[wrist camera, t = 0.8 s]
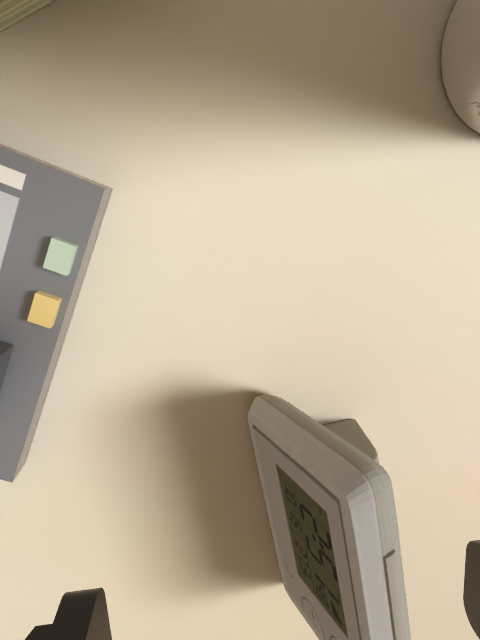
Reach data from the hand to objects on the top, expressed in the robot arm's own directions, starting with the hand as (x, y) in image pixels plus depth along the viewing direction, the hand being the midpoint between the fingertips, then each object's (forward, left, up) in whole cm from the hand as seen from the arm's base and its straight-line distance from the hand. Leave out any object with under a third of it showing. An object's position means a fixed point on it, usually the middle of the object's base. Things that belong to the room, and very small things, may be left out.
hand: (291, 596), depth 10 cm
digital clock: (+8, +9, -19) cm, 22 cm away
